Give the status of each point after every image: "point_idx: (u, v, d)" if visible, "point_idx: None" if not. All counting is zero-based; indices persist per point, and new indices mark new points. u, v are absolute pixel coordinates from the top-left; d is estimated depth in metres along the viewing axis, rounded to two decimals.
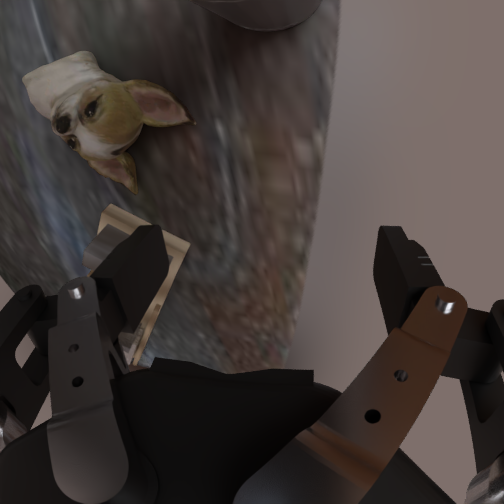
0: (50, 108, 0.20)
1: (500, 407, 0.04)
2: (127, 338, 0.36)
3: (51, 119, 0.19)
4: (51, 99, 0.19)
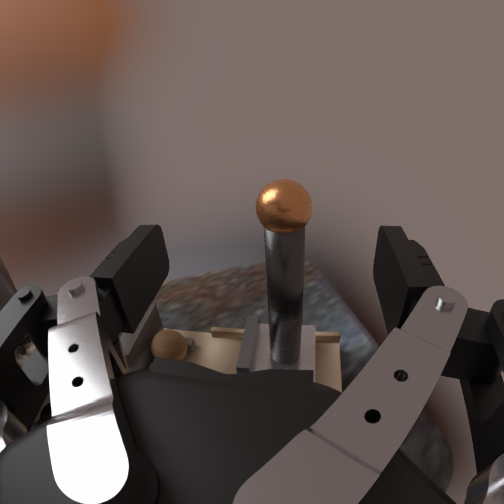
0: None
1: (500, 407, 0.04)
2: None
3: None
4: None
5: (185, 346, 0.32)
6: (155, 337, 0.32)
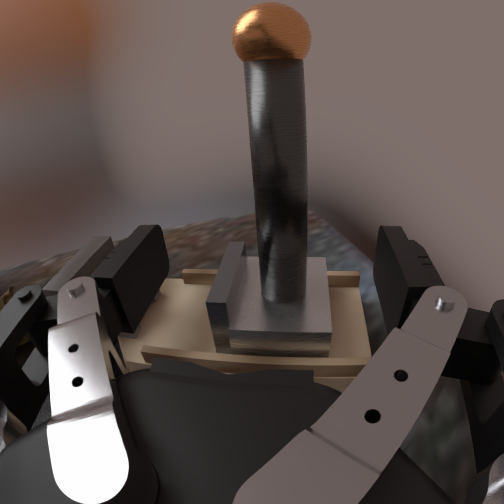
0: None
1: (500, 407, 0.04)
2: None
3: None
4: None
5: None
6: None
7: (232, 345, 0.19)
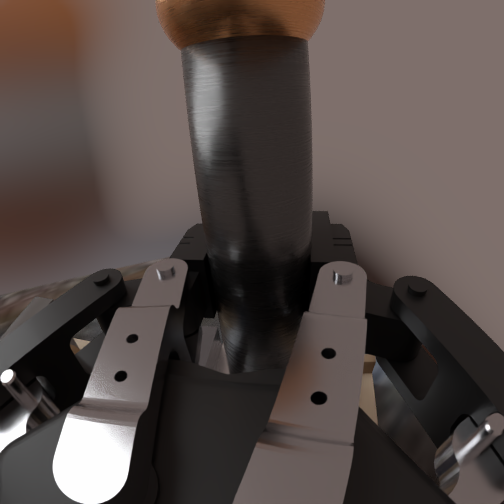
0: None
1: (436, 382, 0.05)
2: None
3: None
4: None
5: None
6: None
7: None
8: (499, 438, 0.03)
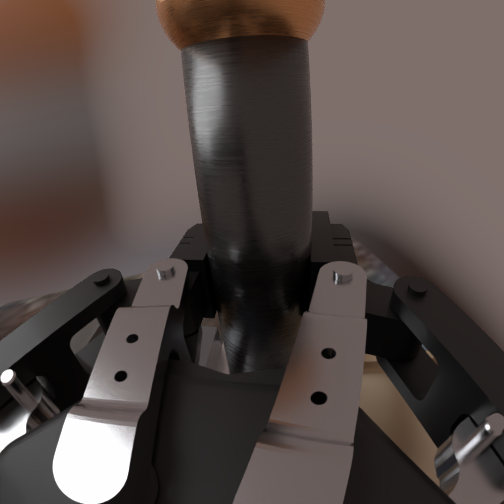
0: None
1: (436, 382, 0.05)
2: None
3: None
4: None
5: None
6: None
7: None
8: (499, 438, 0.03)
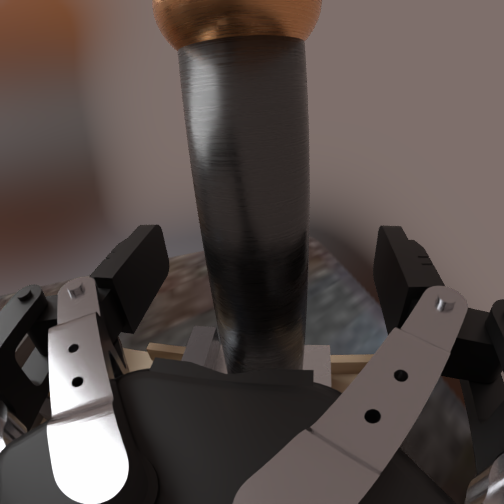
0: None
1: (500, 407, 0.04)
2: None
3: None
4: None
5: None
6: None
7: None
8: None
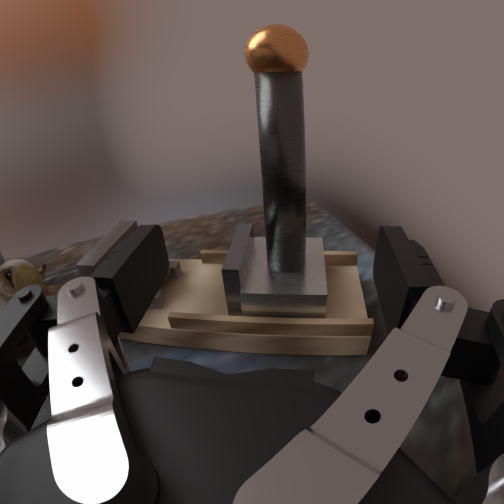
0: None
1: (500, 407, 0.04)
2: None
3: None
4: None
5: None
6: None
7: (243, 308, 0.22)
8: None
